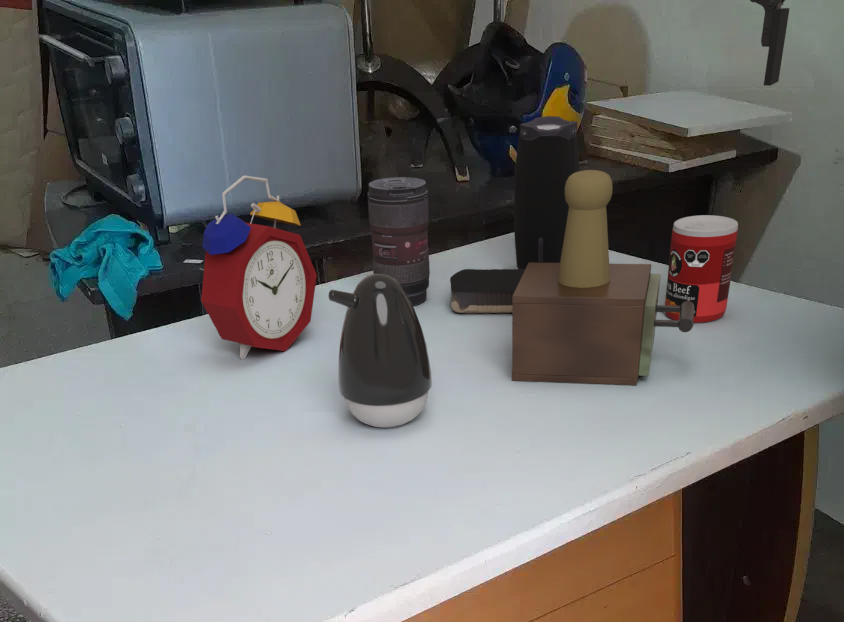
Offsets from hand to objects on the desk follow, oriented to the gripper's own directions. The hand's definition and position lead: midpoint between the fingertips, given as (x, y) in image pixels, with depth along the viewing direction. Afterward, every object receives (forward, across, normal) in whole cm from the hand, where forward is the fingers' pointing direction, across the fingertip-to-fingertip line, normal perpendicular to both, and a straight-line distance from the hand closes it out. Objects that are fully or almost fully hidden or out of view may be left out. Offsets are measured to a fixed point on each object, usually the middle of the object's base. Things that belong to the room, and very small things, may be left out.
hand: (834, 86), depth 107 cm
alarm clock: (+27, +60, +29) cm, 72 cm away
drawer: (+26, +16, +15) cm, 34 cm away
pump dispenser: (+27, +32, +41) cm, 58 cm away
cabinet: (+27, +20, +17) cm, 37 cm away
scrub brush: (+27, +38, +2) cm, 47 cm away
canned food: (+27, +14, -5) cm, 31 cm away
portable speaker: (+27, +40, -12) cm, 50 cm away
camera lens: (+27, +53, +6) cm, 60 cm away
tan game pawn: (+17, +20, +17) cm, 31 cm away
